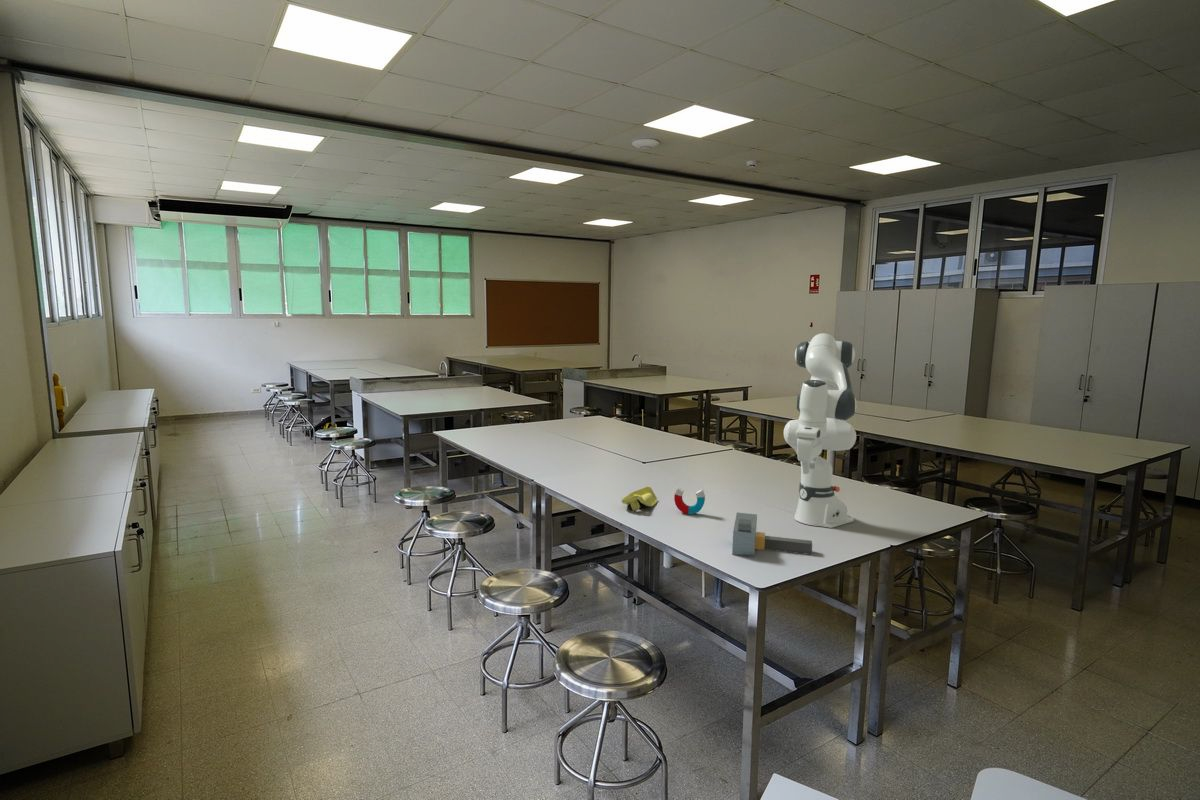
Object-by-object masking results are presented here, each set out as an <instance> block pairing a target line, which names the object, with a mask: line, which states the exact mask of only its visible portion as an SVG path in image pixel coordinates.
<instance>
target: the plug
mask: <svg viewBox="0 0 1200 800" xmlns="http://www.w3.org/2000/svg"><path fill="white" fill-rule="evenodd" d="M755 550H763V551H764V550H769V551H776V550H778V551H777V552H785V551H787V553H794V552H797V553H796V554H803V553H807V554H806V555H811V554H812V552H813V541H812V540H808V539H798V538H790V537H781V536H771V535H766V532H761V531H756V538H755ZM812 555H813V554H812Z"/></svg>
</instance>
